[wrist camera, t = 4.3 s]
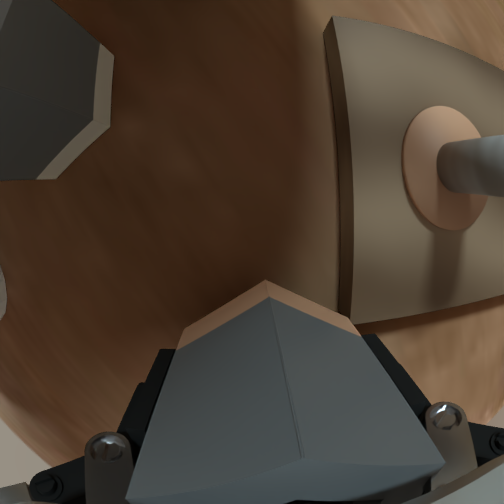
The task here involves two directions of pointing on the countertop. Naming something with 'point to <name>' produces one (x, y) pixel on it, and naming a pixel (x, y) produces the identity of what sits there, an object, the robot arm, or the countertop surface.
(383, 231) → the pin board
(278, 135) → the countertop surface
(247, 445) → the terracotta-banded sleeve
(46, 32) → the cream-banded sleeve
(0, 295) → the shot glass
